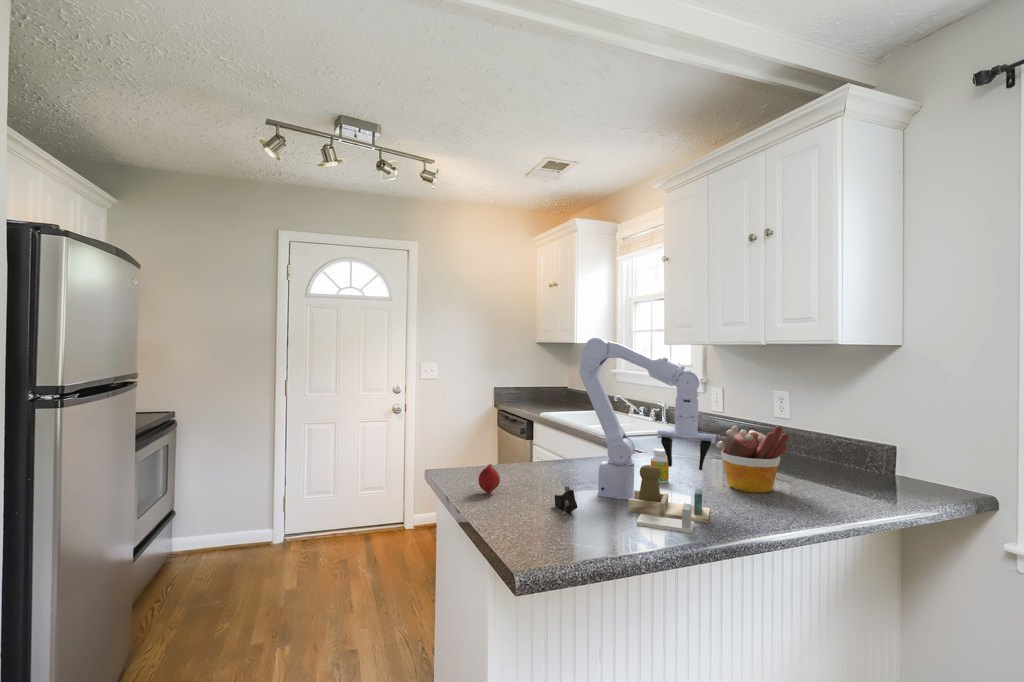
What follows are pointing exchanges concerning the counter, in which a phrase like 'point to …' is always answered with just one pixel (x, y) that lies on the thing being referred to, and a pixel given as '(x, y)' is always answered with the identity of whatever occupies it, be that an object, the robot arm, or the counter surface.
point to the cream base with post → (669, 521)
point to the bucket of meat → (752, 458)
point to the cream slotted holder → (669, 507)
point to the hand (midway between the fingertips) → (685, 467)
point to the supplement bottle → (661, 464)
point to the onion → (489, 479)
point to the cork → (650, 483)
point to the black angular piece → (566, 500)
